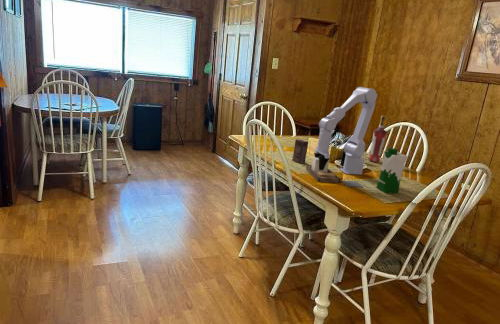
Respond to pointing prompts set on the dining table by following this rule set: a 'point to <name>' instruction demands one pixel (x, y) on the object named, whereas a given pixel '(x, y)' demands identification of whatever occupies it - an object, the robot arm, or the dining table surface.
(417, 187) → the dining table surface
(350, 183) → the mat
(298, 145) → the box
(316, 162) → the cream rectangular prism
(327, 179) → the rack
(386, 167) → the milk carton
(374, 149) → the liquor
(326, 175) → the tan rectangular block
